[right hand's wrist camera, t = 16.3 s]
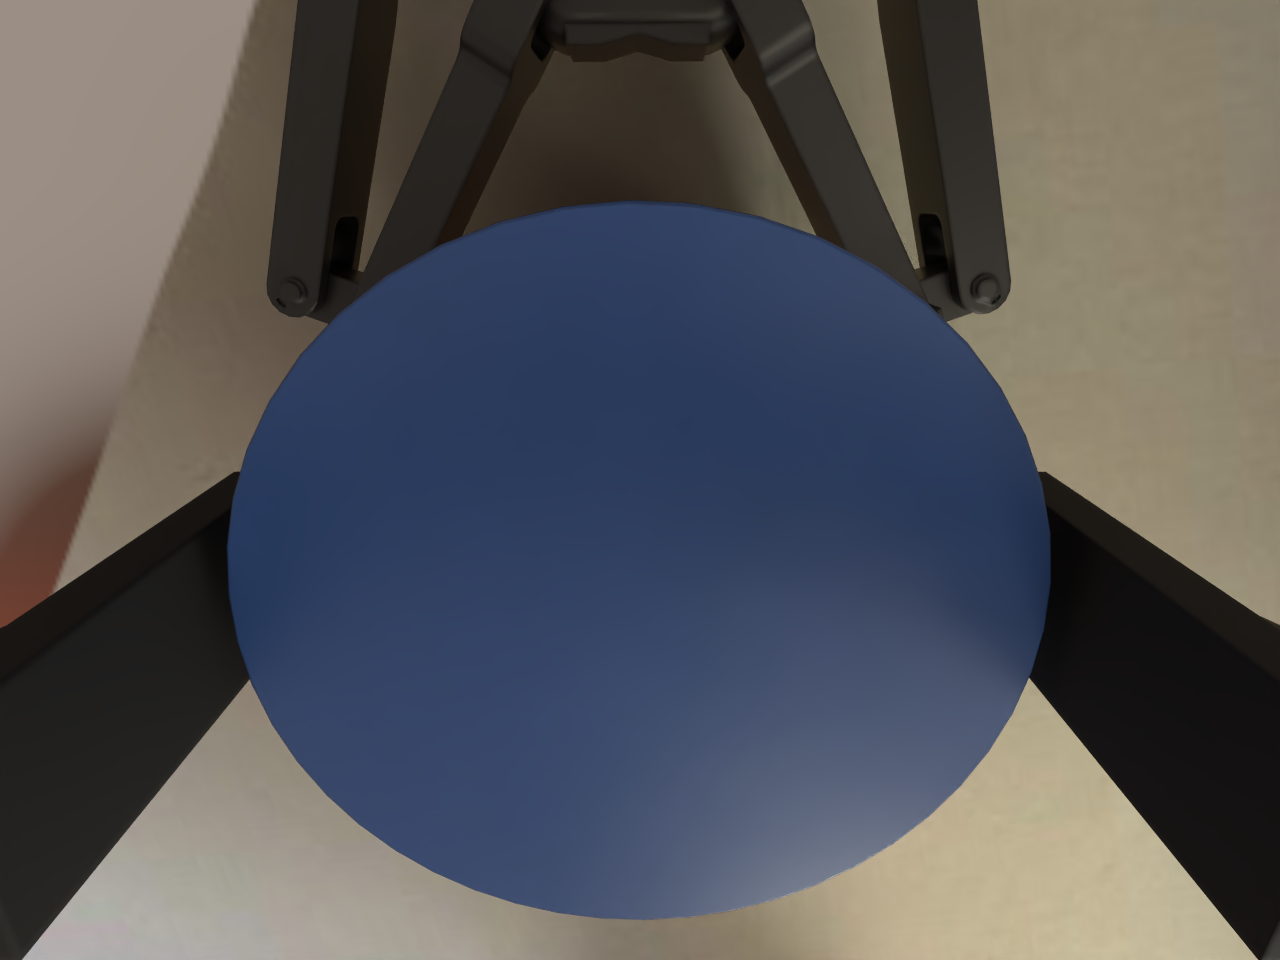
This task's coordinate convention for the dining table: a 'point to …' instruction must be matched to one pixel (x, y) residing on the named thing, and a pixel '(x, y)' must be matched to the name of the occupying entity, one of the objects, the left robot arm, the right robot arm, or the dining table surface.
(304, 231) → the left robot arm
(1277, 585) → the dining table surface
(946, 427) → the lid
